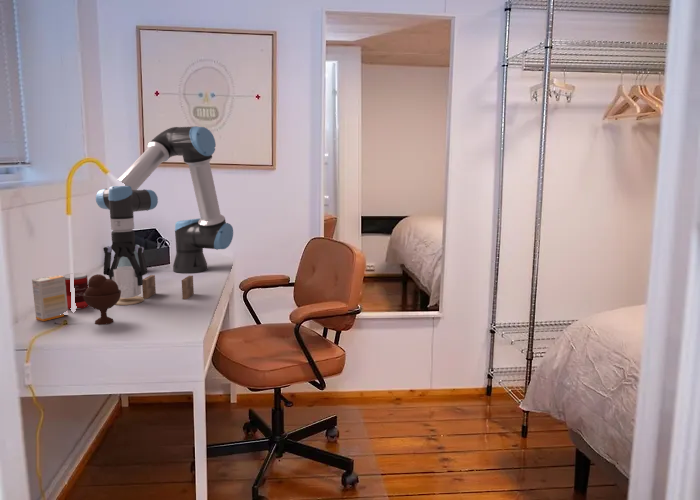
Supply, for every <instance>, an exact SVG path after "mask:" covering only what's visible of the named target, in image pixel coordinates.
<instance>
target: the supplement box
mask: <svg viewBox="0 0 700 500" xmlns="http://www.w3.org/2000/svg"><path fill="white" fill-rule="evenodd" d="M31 285H32V294H33V302H34V311H35V313H34V314H35V319H36V320H38V321H40V322H46V321H50V320H53V319H58V318H63V317H65V316H64V314H63V313H64V312H66V311H67V310H68V311H69V309H68V306H67V295H66V285H65V277H64V276H63V275H60V274H54V275H49V276H48V275H47V276H44V277H38V278H33V279H31ZM60 314H61V315H60Z"/></svg>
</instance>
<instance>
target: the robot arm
mask: <svg viewBox="0 0 700 500" xmlns="http://www.w3.org/2000/svg"><path fill="white" fill-rule="evenodd" d="M215 151H216V139H215V136H214V134H213V133H212V131H210V129H208V128H207V127H204V126H196V125H193V126H172V127H170V128H166V129H165V130H163V131H162V132H160V133H159V134H157V135H156V136H155V137H153V139H152V140H151V141H150V142H148V144H147V146H146V149H145V151H144V152H143V153H141V154H140V156H139V157H137V159H136V160H135V161H134V162H133V163H132V164H131V165H129V167H128V168H127V169H126V170H125V171H124V172H123V174H121V176H120V177H118V179H117V180H119V181H121V182H122V183H124V184H125V186H112V185H111V186H110V187H108V188H103V189H100V190H98V191H97V193H96V195H95V201H96V204H97V206H98V207H99V208H101V209H103V210H109V215H110V216H109V217H110V218H109V219H110V229H111V232H110V233H111V245H110V246H109V245H108V246H104V247H103V253H104V259H103V261H104V262H103V274H102V275H103V276H108V279H111V280H113V281H115V280H114V272H113V269H114V270H115V269H116V268H118V264H119V261H120V258H121V257H127V258H128V259H129V260H130V263H131V265H132V267H133V269H134V271H135V273H136V275H137V276H136V277H135V292H136V295H137V296H140V295H141V294H142V290H141V289H142V288H141V287H142V284H143V279H144V278H143V276H145V275H147V274H148V273H149V272H148V267H147V263H146V258H145V257H146V256H145V247H144V246H140V247H138V246H136V245H137V244H136V236H135V235H136V234H135V230H134V229H135V222H134V219H135V218H134V212H145V211H152V210H154V209H155V208H156V207H157V206H158V203H159V201H158V200H159V198H158V195H157V193H156V192H155V191H154V190H152V189H139V188H140V187H141V186H142V185H143V184H144V183H145V181H146V180H148V178H149V177H151V175H152V173H153V172H154V171H155V170H157V168H158V167H160V165H161V164H162V163H163V162H167V161H168V160H169V159H170V158H172V157H176V156H182V160H183V162H184V163H185V164H186V165H188V168H189V172H190V176H191V181H192V185H193V191H194V195H195V198H196V204H197V207H198V208H197V209H198V213H199V217H200V218H190V219H183V220H178V221H176V222H175V225H174V232H175V233H174V234H175V257H174V261H173V264H172V271H173V272H175V273H178V274H179V273H180V274H193V273H200V272H205V271H208V269H209V268H208V267H209V266H208V262H207V260H206V257H205V254H204V249H209V250H210V249H211V250H217V251H218V250H225V249H227V248H229V246H230V245H231V244H232V241H233V238H234V229H233V226H232V225H231V224H230V223H228V222H227V221H226V217H225V216H224V215H222V214H221V209H220V205H219V201H218V196H217V191H216V187H215V183H214V182H215V181H214V176H213V173H212V168H211V164H210V163H211V160H212V159H213V154H214V153H215ZM135 249H136V252H137V253H138V259H139V264H138V262H137V260H136V258H135V254H134V251H135ZM112 252H114V256H113V260H112ZM111 261H112V263H111Z"/></svg>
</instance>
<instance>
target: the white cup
mask: <svg viewBox="0 0 700 500" xmlns="http://www.w3.org/2000/svg"><path fill="white" fill-rule="evenodd" d="M113 272H114V280H115V282H116V283H117V285H118V289H119V290H121V295H120V298H131V297H135V296H138V295H136V292H135V277H136V276H137V275H136V273H135V271H134V269H133V267H132V266H126V267H117V268H116V269H115V270H114V269H113Z"/></svg>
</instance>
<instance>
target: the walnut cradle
mask: <svg viewBox="0 0 700 500" xmlns="http://www.w3.org/2000/svg"><path fill="white" fill-rule="evenodd" d="M141 287H142V288H141V289H142V297H143V298H144V300H146V299H147V300H148V299H149V298H151V297H152V296H154V295H155V294H156V293H157V291H156V288H157V287H156V275H155V274H150V275H149V276H147V277H145V278H143V284H142V285H141ZM194 289H195V288H194V275H188V276H186V277H184V278H182V280H181V296H182V298H181V299H182V300H188V299H189V298H190V297H192V296H193V295H195V294H194V293H195V291H194Z"/></svg>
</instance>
